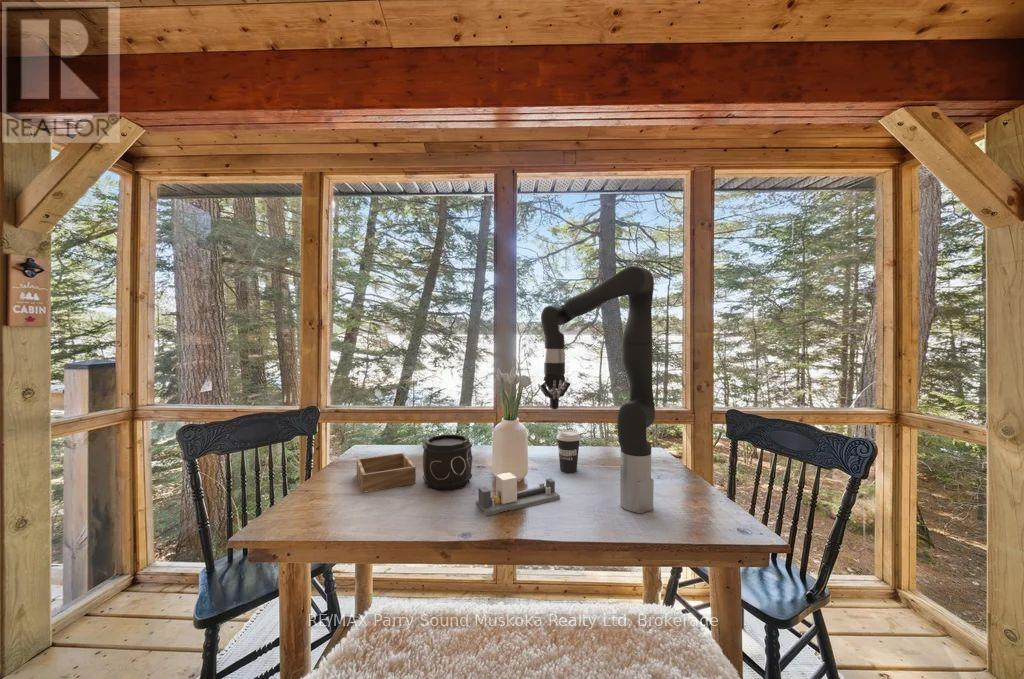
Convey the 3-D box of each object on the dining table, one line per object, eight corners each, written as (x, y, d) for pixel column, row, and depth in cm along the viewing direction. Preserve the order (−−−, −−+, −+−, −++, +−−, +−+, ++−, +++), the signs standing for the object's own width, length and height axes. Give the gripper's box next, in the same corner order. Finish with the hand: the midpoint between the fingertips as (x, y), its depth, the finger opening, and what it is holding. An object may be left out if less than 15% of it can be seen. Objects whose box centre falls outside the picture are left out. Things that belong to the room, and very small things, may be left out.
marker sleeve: (509, 495, 129) (509, 472, 129) (516, 500, 125) (517, 477, 125) (495, 498, 127) (495, 474, 127) (502, 504, 123) (502, 480, 123)
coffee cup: (551, 468, 159) (551, 431, 159) (571, 465, 163) (571, 428, 163) (564, 476, 150) (564, 437, 150) (585, 472, 154) (585, 434, 154)
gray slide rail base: (545, 489, 138) (545, 471, 138) (559, 498, 130) (559, 480, 130) (475, 504, 126) (475, 484, 126) (486, 515, 118) (486, 495, 118)
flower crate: (415, 483, 143) (415, 466, 143) (362, 492, 135) (362, 475, 135) (404, 467, 160) (404, 452, 160) (356, 474, 152) (356, 459, 152)
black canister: (479, 487, 139) (479, 443, 139) (428, 495, 133) (427, 449, 132) (466, 471, 156) (466, 431, 156) (420, 477, 149) (419, 435, 149)
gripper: (544, 362, 137) (544, 412, 137) (575, 361, 143) (575, 409, 143) (533, 361, 143) (533, 408, 144) (563, 359, 149) (563, 405, 150)
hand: (554, 408), depth 143 cm, fingers closed
